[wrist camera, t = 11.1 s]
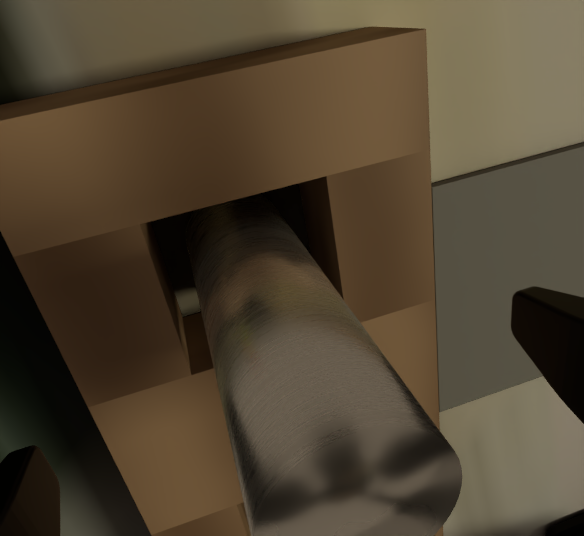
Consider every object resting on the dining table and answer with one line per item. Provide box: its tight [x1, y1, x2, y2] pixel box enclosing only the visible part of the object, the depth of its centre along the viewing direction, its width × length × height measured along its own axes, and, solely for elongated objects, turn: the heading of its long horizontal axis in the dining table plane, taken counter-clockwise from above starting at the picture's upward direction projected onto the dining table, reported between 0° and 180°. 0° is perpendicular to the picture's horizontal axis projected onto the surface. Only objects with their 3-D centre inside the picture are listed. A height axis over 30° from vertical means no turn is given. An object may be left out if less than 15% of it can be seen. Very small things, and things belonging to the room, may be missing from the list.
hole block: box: [0, 27, 443, 536], centre depth 16 cm, size 10×20×3 cm, turn 10°
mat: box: [431, 143, 584, 412], centre depth 19 cm, size 9×10×1 cm
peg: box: [185, 193, 462, 536], centre depth 11 cm, size 3×3×10 cm
